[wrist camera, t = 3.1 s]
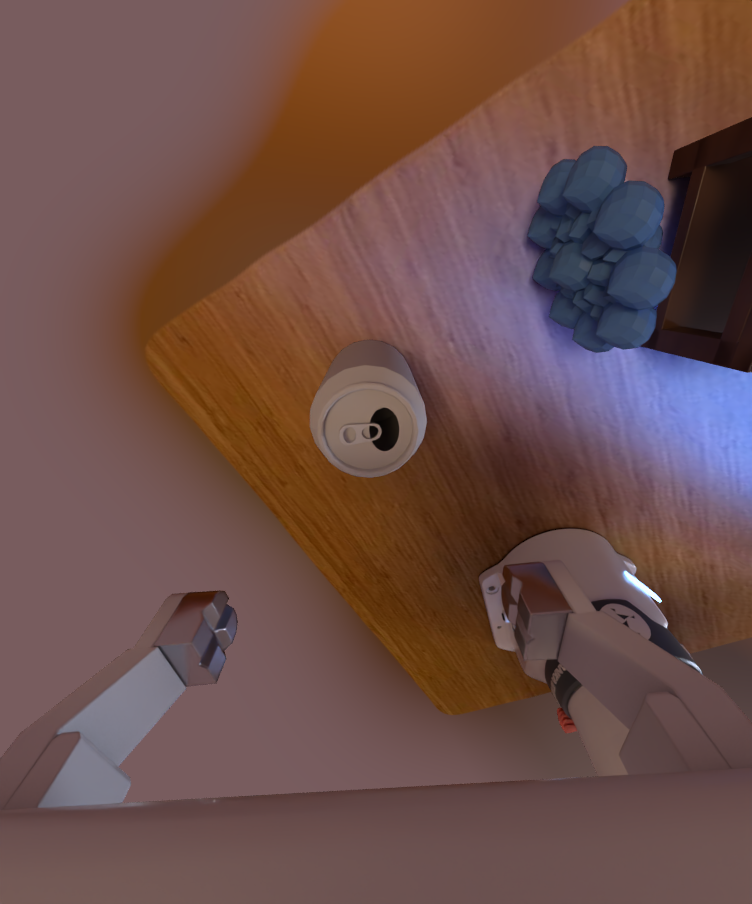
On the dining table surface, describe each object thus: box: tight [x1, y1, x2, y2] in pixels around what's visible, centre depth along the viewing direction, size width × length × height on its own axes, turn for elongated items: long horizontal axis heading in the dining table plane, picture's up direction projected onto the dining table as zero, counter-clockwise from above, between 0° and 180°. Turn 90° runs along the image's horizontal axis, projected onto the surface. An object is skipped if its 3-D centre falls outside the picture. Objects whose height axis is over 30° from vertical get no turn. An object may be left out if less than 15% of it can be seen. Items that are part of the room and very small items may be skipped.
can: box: [310, 340, 427, 478], centre depth 25 cm, size 8×8×12 cm
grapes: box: [528, 146, 677, 353], centre depth 20 cm, size 12×7×12 cm, turn 22°
